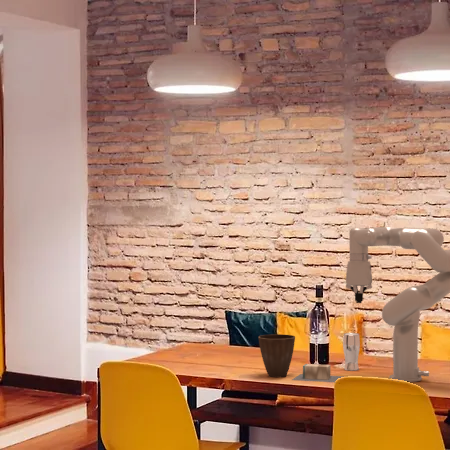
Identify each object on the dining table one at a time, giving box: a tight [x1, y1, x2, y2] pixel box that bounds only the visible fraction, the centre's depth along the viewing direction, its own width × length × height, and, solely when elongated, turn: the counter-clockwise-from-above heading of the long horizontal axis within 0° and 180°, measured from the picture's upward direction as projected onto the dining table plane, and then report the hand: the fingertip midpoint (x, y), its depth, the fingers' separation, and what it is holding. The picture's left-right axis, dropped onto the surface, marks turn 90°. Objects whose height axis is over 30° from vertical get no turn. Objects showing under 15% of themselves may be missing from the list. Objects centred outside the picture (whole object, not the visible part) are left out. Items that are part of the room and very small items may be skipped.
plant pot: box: [258, 333, 296, 378], centre depth 400 cm, size 15×15×16 cm
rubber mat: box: [291, 373, 344, 383], centre depth 390 cm, size 22×14×1 cm, turn 71°
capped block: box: [302, 363, 332, 380], centre depth 391 cm, size 5×5×10 cm
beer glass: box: [342, 332, 361, 372], centre depth 413 cm, size 7×7×15 cm
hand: (358, 302), depth 403 cm, fingers closed
